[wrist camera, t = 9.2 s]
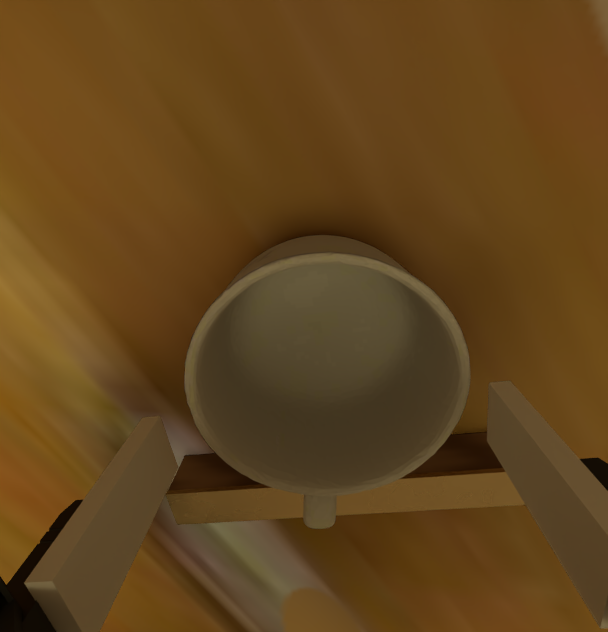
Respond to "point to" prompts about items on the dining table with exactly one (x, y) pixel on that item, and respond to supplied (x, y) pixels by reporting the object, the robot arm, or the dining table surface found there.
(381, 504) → the stop bar
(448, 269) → the dining table surface
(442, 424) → the teacup
